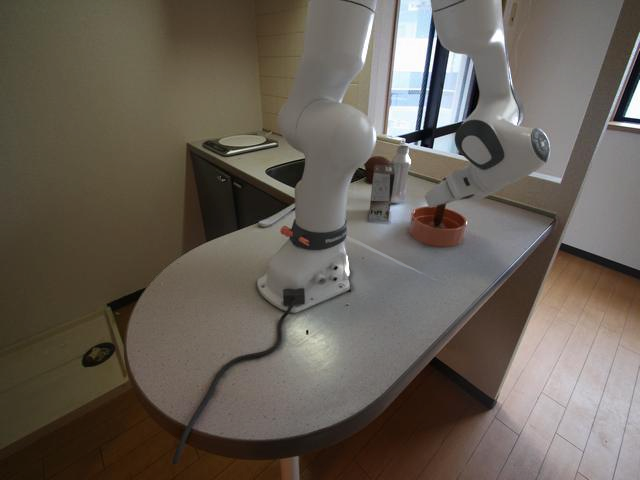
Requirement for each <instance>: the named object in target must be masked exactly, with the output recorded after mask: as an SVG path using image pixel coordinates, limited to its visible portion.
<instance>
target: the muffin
mask: <svg viewBox="0 0 640 480" xmlns="http://www.w3.org/2000/svg"><path fill="white" fill-rule="evenodd" d="M391 162H392V161H390V159H388V158H387V157H385V156H380V155H374V156H370V158H369V159H368V161H367V162H366V163H365V164H364V165H363V167H364V173H365V174H364V175H365V182H367V183H369V184H372V182H373V174H374V167H375V165H390V166H391Z"/></svg>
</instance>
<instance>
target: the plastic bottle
mask: <svg viewBox="0 0 640 480" xmlns="http://www.w3.org/2000/svg"><path fill="white" fill-rule="evenodd" d="M409 152H410V146H409V145H403V144H402V145H401V144H400V145H397V149H396V154H395V155H394V156H393V158H392V160H391V161H390V162H391V166H395V177H394V184H393V192H392V199H391V204H397V205H400V204H403V203H404V202H405V200H406V198H407V178H408V175H409V171H410V168H411V163H412V162H411V161H412V160H411V158H410V156H409Z"/></svg>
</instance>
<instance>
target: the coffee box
mask: <svg viewBox="0 0 640 480" xmlns="http://www.w3.org/2000/svg"><path fill="white" fill-rule="evenodd" d="M394 177H395V166H390V165H375V167H374V174H373V182H372V183H371V191H370V203H369V212H368V213H369V214H368V221H373V222H374V221H375V222H383V223H384V222H385V223H389V217H390V211H391V204H392V203H391V199H392V192H393V184H394Z"/></svg>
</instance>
